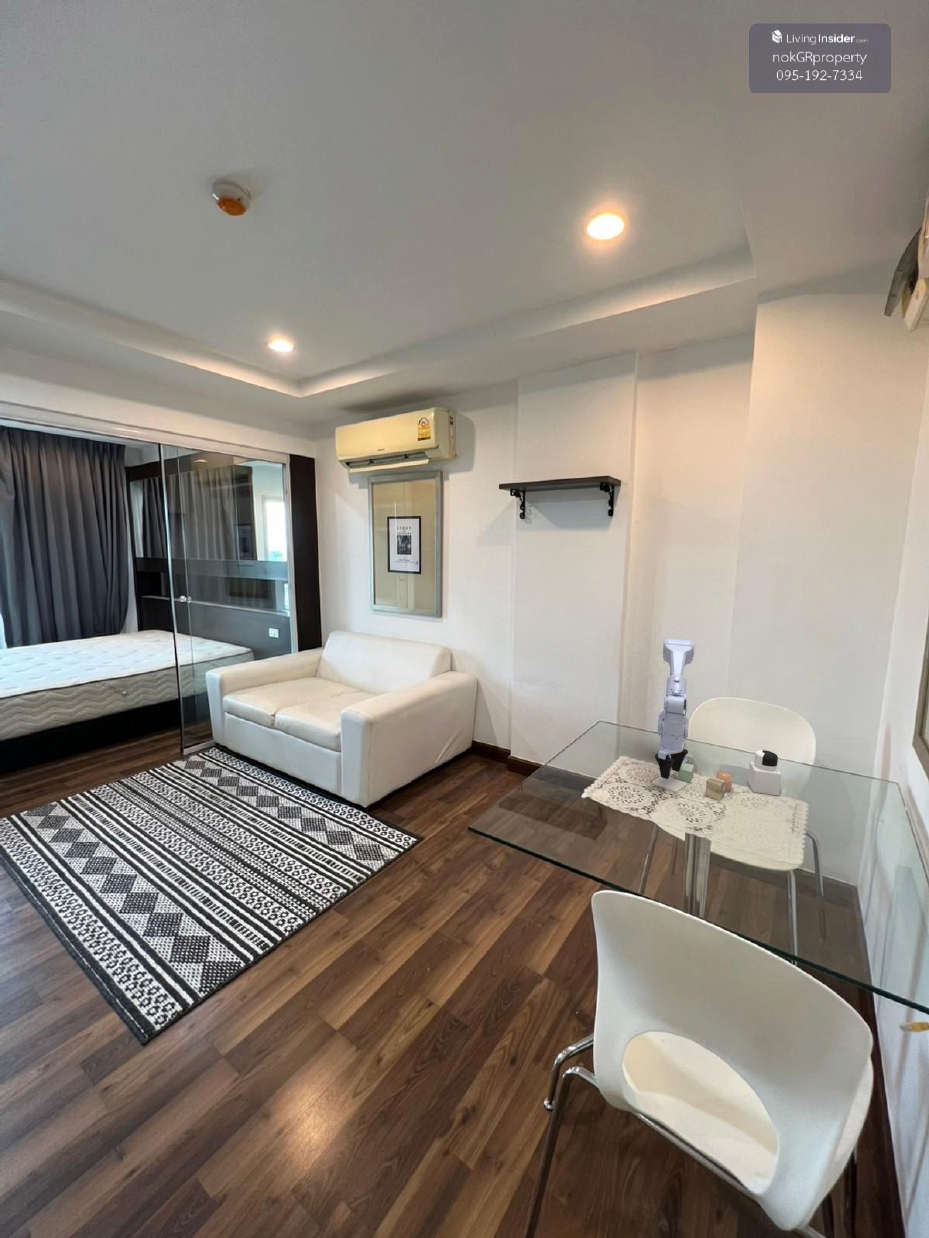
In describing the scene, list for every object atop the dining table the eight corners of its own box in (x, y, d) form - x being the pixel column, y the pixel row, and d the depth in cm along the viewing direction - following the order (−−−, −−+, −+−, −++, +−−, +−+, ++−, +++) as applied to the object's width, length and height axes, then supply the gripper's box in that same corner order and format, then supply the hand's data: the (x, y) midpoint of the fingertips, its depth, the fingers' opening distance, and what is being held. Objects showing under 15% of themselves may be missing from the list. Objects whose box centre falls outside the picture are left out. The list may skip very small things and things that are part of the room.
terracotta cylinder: (718, 784, 154) (719, 769, 153) (733, 789, 150) (734, 774, 150) (713, 788, 151) (714, 773, 150) (728, 793, 147) (729, 778, 147)
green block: (676, 780, 156) (680, 773, 161) (690, 783, 154) (693, 776, 159) (677, 768, 156) (680, 762, 161) (691, 771, 153) (694, 765, 158)
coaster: (663, 776, 159) (663, 774, 158) (687, 785, 153) (687, 783, 153) (651, 783, 153) (651, 782, 153) (676, 793, 147) (676, 791, 147)
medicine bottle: (773, 785, 153) (776, 749, 152) (779, 796, 146) (783, 758, 145) (747, 782, 155) (750, 746, 154) (752, 792, 149) (756, 755, 147)
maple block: (710, 791, 149) (711, 776, 148) (724, 796, 146) (725, 781, 145) (705, 796, 146) (706, 780, 145) (719, 801, 143) (720, 785, 142)
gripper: (671, 724, 159) (668, 763, 160) (649, 734, 149) (647, 776, 151) (692, 730, 153) (689, 770, 155) (672, 741, 144) (669, 784, 145)
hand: (670, 774), depth 153 cm, fingers open, 7 cm apart
